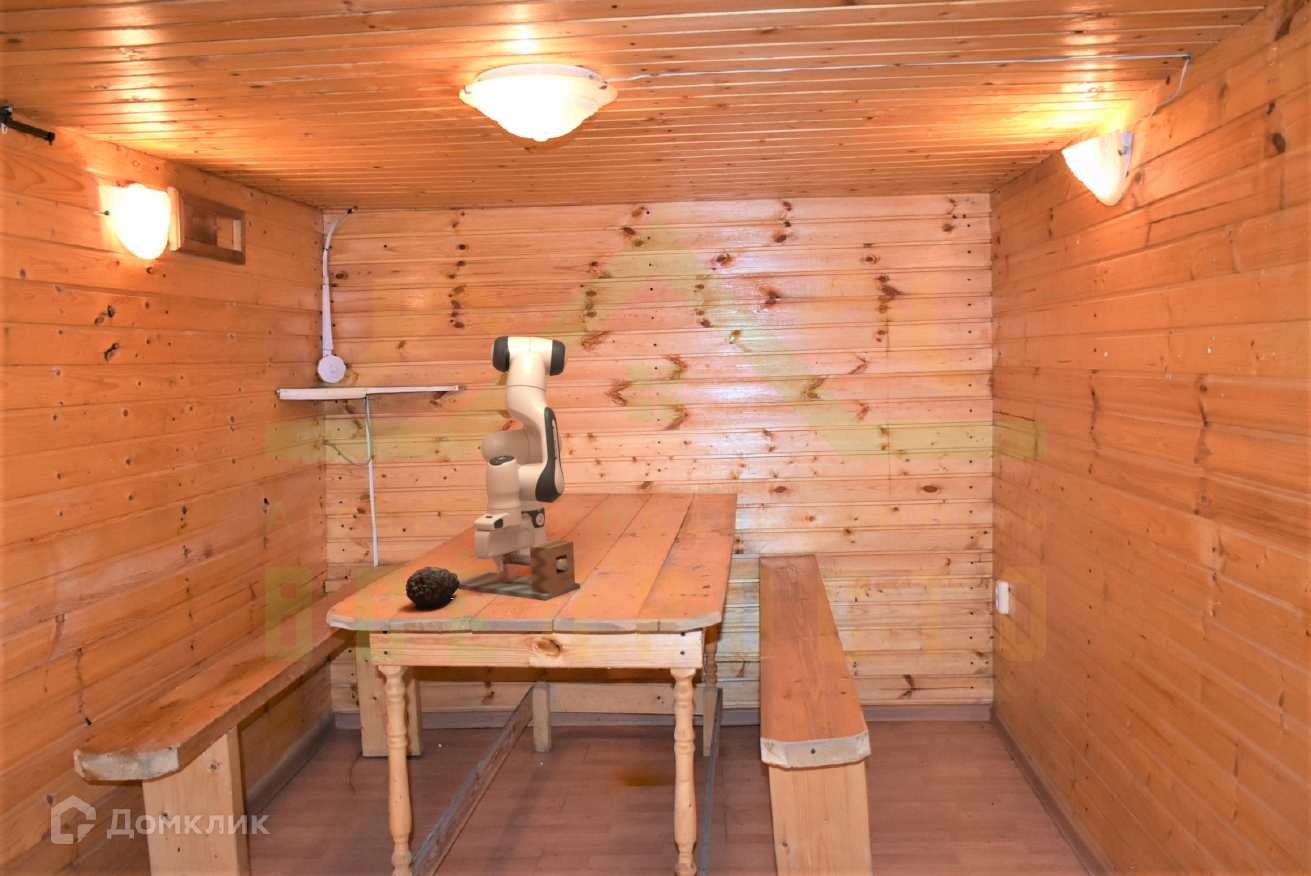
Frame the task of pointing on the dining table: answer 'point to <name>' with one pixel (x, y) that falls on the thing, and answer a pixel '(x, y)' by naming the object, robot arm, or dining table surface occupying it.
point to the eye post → (533, 575)
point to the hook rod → (519, 559)
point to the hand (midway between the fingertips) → (507, 569)
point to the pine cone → (431, 588)
